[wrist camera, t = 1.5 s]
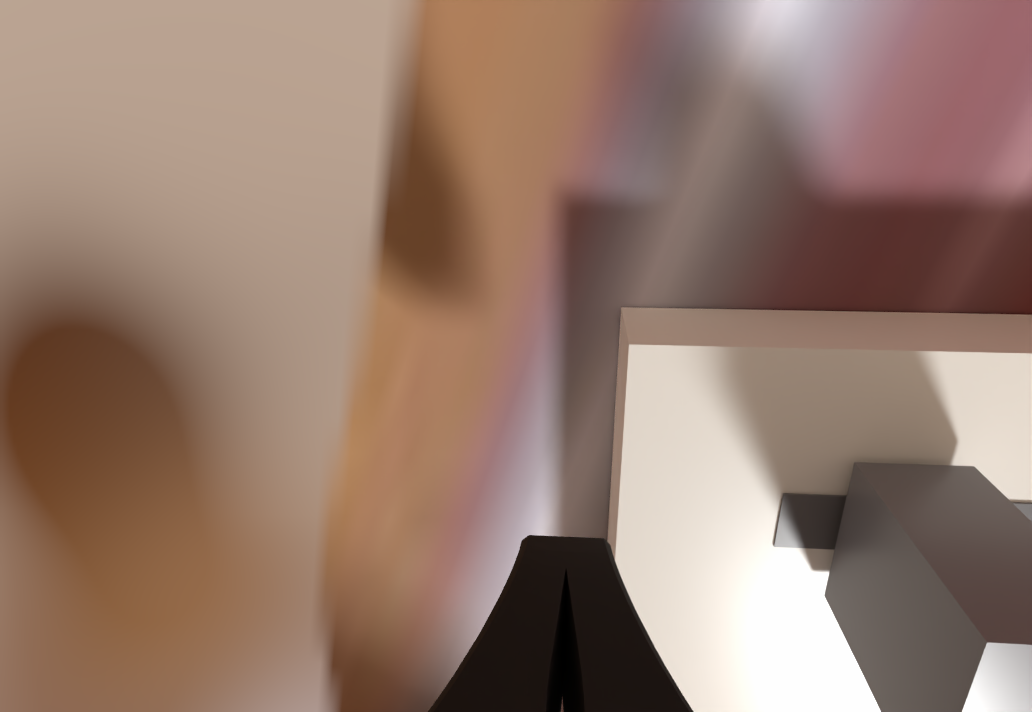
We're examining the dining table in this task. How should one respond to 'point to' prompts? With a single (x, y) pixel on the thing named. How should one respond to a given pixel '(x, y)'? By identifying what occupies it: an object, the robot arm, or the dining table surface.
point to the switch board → (788, 475)
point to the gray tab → (935, 589)
